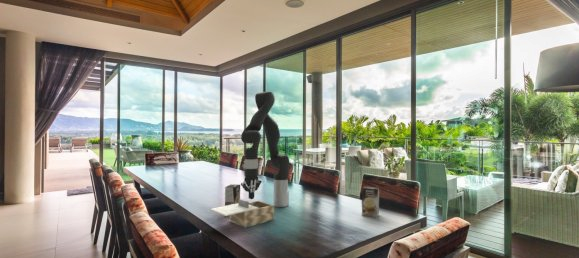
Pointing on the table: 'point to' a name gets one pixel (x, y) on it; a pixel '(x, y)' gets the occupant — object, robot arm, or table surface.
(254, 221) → the wooden box
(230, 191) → the coffee box
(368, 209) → the coffee box
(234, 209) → the lid
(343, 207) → the table surface
